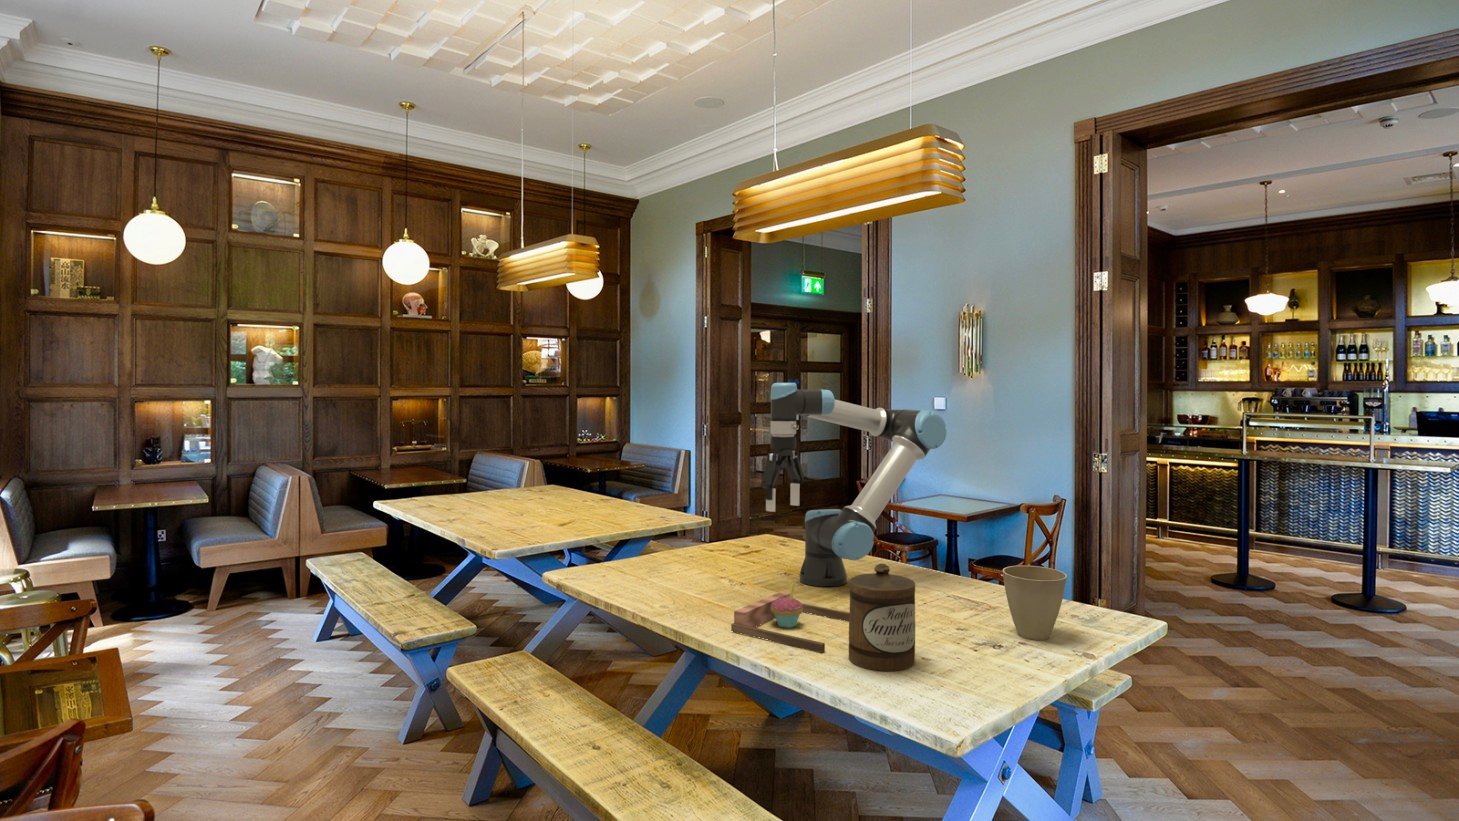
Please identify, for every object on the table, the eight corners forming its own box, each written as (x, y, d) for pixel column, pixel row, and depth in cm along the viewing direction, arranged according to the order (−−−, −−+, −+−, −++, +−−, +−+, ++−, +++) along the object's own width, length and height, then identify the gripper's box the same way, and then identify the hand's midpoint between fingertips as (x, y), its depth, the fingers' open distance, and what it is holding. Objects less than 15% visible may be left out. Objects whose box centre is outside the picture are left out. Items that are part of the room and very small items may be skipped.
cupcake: (807, 622, 199) (807, 577, 198) (797, 632, 191) (797, 585, 191) (776, 618, 202) (776, 574, 202) (765, 627, 194) (765, 581, 194)
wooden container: (872, 676, 162) (873, 574, 161) (836, 653, 176) (837, 560, 175) (928, 666, 168) (929, 568, 167) (889, 645, 182) (890, 554, 181)
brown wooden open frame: (785, 607, 212) (785, 589, 212) (870, 624, 197) (870, 605, 197) (731, 631, 191) (731, 612, 191) (822, 653, 176) (822, 631, 176)
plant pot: (989, 630, 193) (989, 568, 192) (1033, 623, 199) (1033, 563, 198) (1033, 649, 179) (1034, 582, 179) (1079, 640, 185) (1080, 576, 185)
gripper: (771, 438, 207) (771, 515, 208) (815, 434, 227) (815, 504, 228) (748, 437, 211) (748, 512, 212) (794, 433, 232) (793, 501, 232)
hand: (783, 508), depth 220 cm, fingers open, 13 cm apart
